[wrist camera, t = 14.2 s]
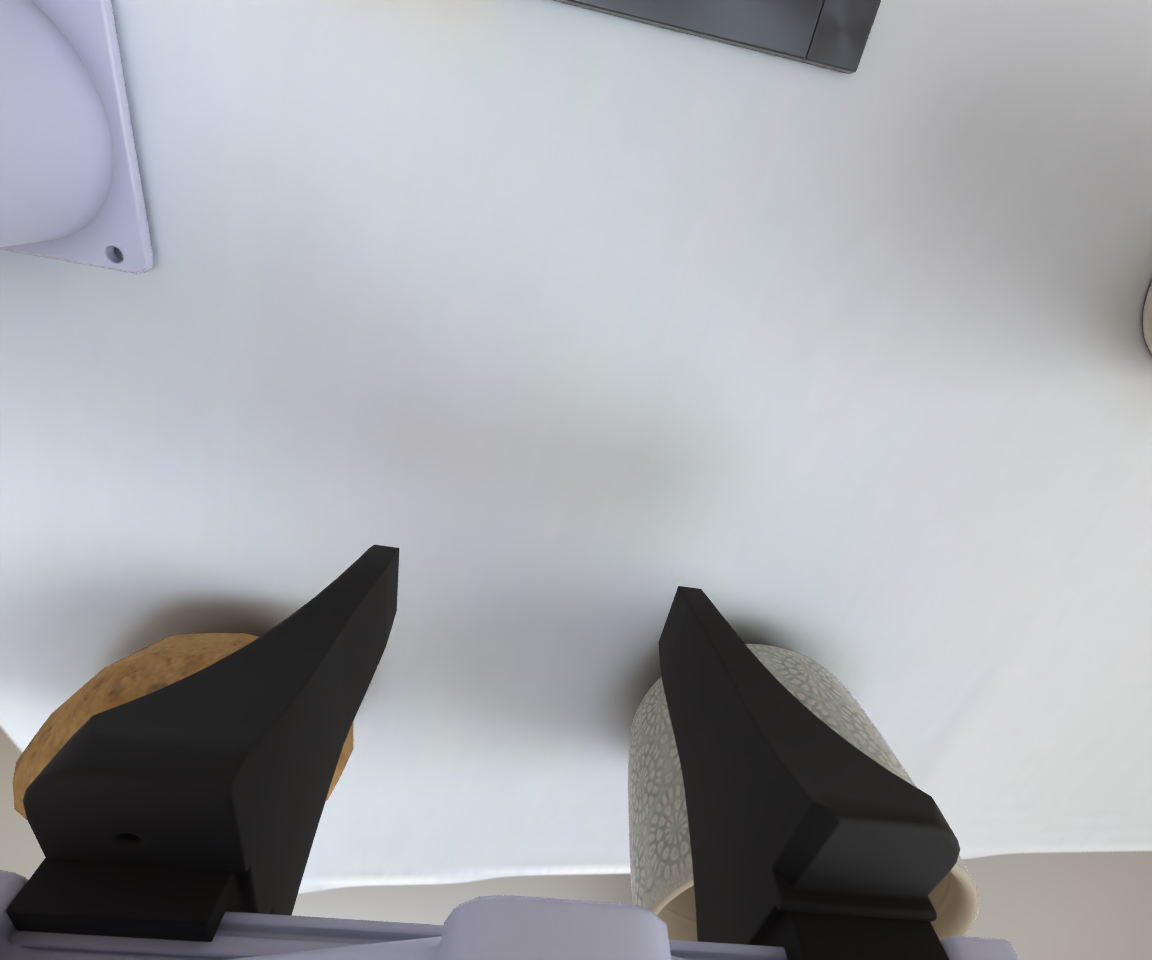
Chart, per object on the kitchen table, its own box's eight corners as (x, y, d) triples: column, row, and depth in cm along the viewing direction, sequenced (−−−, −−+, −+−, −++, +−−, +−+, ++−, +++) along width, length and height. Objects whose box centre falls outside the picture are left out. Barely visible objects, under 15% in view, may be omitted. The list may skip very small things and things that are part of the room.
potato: (55, 619, 26) (-126, 780, 20) (335, 566, 25) (249, 717, 18) (170, 748, 31) (56, 915, 24) (410, 707, 30) (365, 870, 23)
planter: (671, 790, 34) (714, 1030, 25) (570, 666, 29) (575, 911, 19) (872, 719, 31) (1007, 959, 22) (801, 567, 26) (940, 797, 16)
